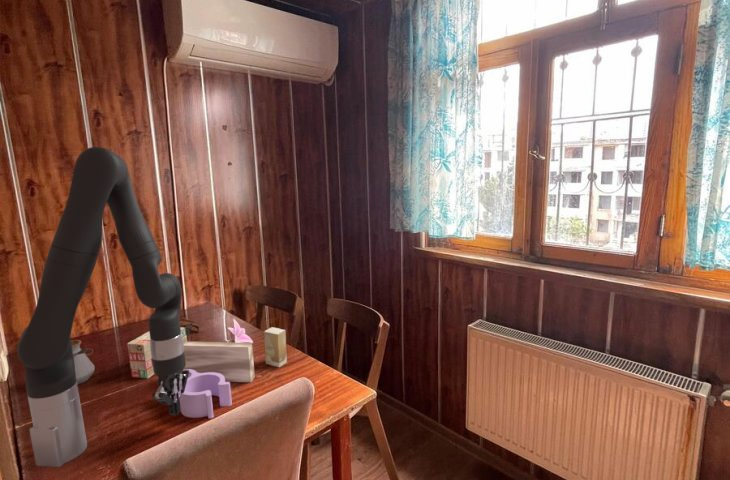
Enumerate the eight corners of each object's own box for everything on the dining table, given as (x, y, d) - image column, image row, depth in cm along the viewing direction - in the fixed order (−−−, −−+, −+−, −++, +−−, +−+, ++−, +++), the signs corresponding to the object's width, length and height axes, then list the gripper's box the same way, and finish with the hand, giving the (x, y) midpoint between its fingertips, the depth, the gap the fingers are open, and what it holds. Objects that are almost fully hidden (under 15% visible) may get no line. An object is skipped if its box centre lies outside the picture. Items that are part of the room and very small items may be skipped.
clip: (157, 405, 117) (154, 383, 116) (193, 384, 127) (191, 364, 126) (203, 424, 107) (201, 400, 106) (238, 400, 118) (236, 378, 117)
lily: (231, 359, 146) (243, 336, 145) (211, 341, 151) (222, 319, 150) (252, 355, 157) (263, 334, 156) (233, 339, 162) (243, 318, 161)
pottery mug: (170, 336, 167) (177, 316, 170) (193, 341, 172) (199, 322, 174) (174, 338, 157) (181, 317, 160) (198, 343, 162) (205, 323, 164)
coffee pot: (47, 383, 130) (39, 340, 128) (87, 368, 140) (81, 328, 137) (74, 403, 118) (66, 356, 116) (116, 386, 128) (109, 341, 125)
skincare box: (265, 364, 139) (262, 331, 137) (273, 358, 143) (271, 326, 141) (279, 367, 136) (277, 334, 134) (288, 362, 140) (285, 329, 138)
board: (251, 382, 127) (248, 347, 125) (186, 380, 130) (182, 345, 128) (254, 377, 130) (252, 342, 128) (191, 375, 133) (187, 341, 131)
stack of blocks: (174, 349, 153) (170, 318, 151) (188, 350, 152) (185, 319, 150) (131, 377, 133) (126, 342, 131) (147, 379, 132) (143, 344, 129)
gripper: (165, 365, 95) (173, 430, 98) (195, 341, 108) (202, 400, 111) (136, 364, 96) (145, 429, 99) (169, 340, 109) (176, 398, 112)
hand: (175, 413), depth 105 cm, fingers closed
